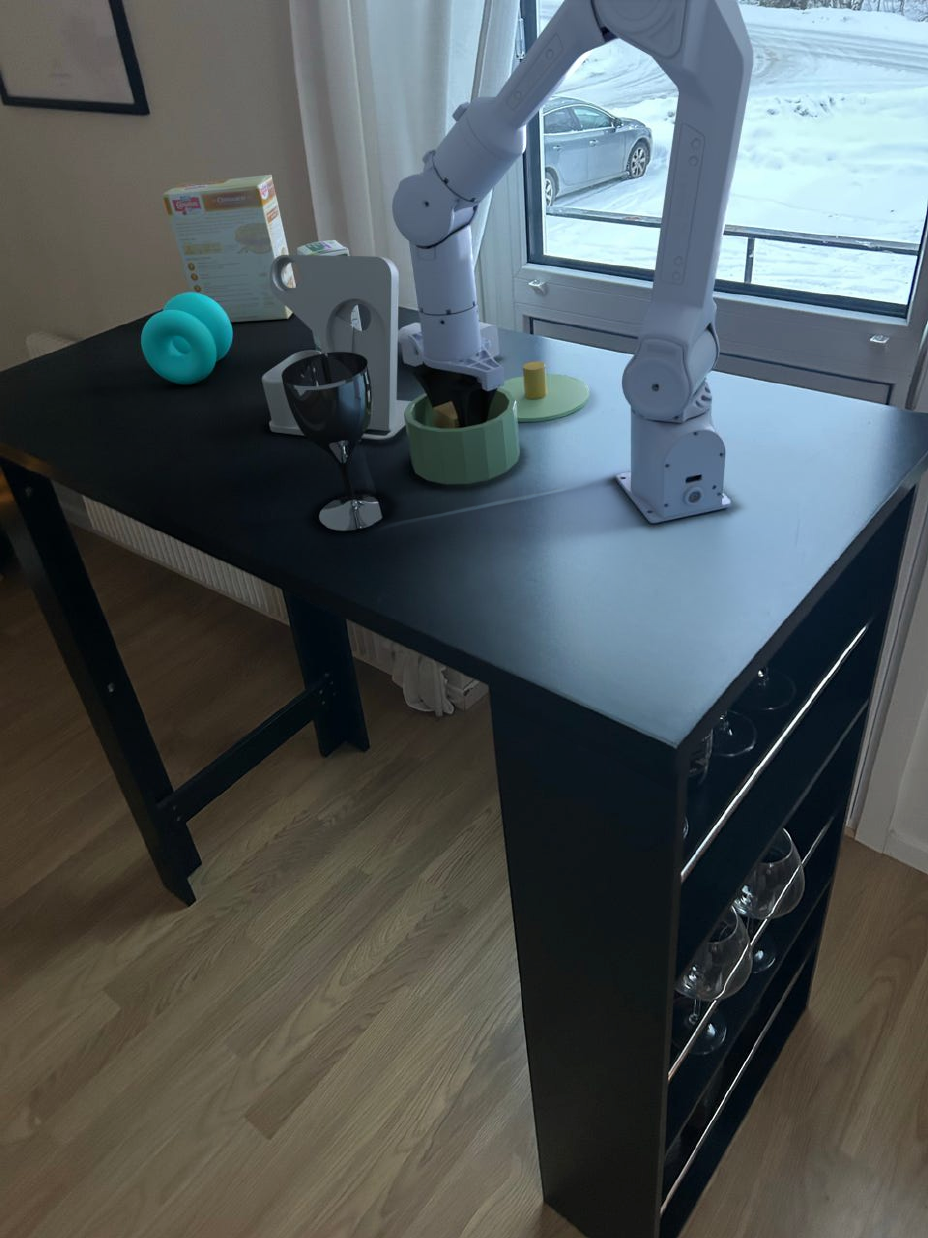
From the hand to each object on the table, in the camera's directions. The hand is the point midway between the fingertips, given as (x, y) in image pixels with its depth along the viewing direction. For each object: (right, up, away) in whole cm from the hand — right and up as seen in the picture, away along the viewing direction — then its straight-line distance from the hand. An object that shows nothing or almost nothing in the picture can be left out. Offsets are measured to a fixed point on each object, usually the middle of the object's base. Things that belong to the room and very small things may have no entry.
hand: (462, 434), depth 96 cm
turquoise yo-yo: (-37, +15, +32) cm, 51 cm away
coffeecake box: (-34, +29, +51) cm, 67 cm away
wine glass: (-11, -9, -4) cm, 14 cm away
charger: (-3, +15, +27) cm, 31 cm away
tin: (0, -3, +2) cm, 3 cm away
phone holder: (-14, +5, +14) cm, 21 cm away
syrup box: (-17, +17, +32) cm, 40 cm away
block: (0, -1, +1) cm, 1 cm away
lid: (+9, +7, +12) cm, 16 cm away
